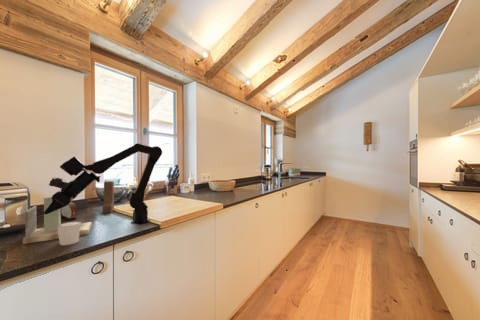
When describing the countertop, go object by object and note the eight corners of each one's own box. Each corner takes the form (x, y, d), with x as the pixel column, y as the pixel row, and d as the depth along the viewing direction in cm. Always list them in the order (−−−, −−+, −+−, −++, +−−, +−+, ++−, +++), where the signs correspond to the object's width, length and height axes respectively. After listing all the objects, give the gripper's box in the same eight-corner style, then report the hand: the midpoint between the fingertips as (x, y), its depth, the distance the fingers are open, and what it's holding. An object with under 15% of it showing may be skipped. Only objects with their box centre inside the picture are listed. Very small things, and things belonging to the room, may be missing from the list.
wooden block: (111, 213, 121) (111, 182, 121) (102, 214, 119) (102, 182, 119) (113, 209, 129) (113, 180, 129) (105, 210, 128) (105, 181, 127)
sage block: (60, 227, 90) (60, 195, 90) (58, 230, 87) (58, 196, 87) (47, 229, 88) (46, 196, 88) (44, 232, 85) (43, 197, 84)
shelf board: (91, 226, 98) (91, 200, 98) (88, 234, 88) (88, 205, 88) (33, 233, 88) (33, 205, 88) (22, 244, 78) (22, 212, 78)
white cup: (54, 247, 75) (54, 227, 75) (61, 240, 81) (61, 222, 81) (77, 244, 78) (77, 225, 78) (83, 237, 84) (82, 220, 84)
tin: (78, 218, 110) (77, 203, 110) (70, 220, 107) (70, 204, 107) (66, 214, 118) (66, 200, 118) (59, 216, 115) (59, 201, 115)
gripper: (68, 169, 97) (36, 195, 92) (58, 171, 81) (19, 203, 76) (89, 185, 101) (60, 210, 96) (84, 190, 85) (48, 221, 80)
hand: (48, 211), depth 87 cm, fingers open, 9 cm apart
